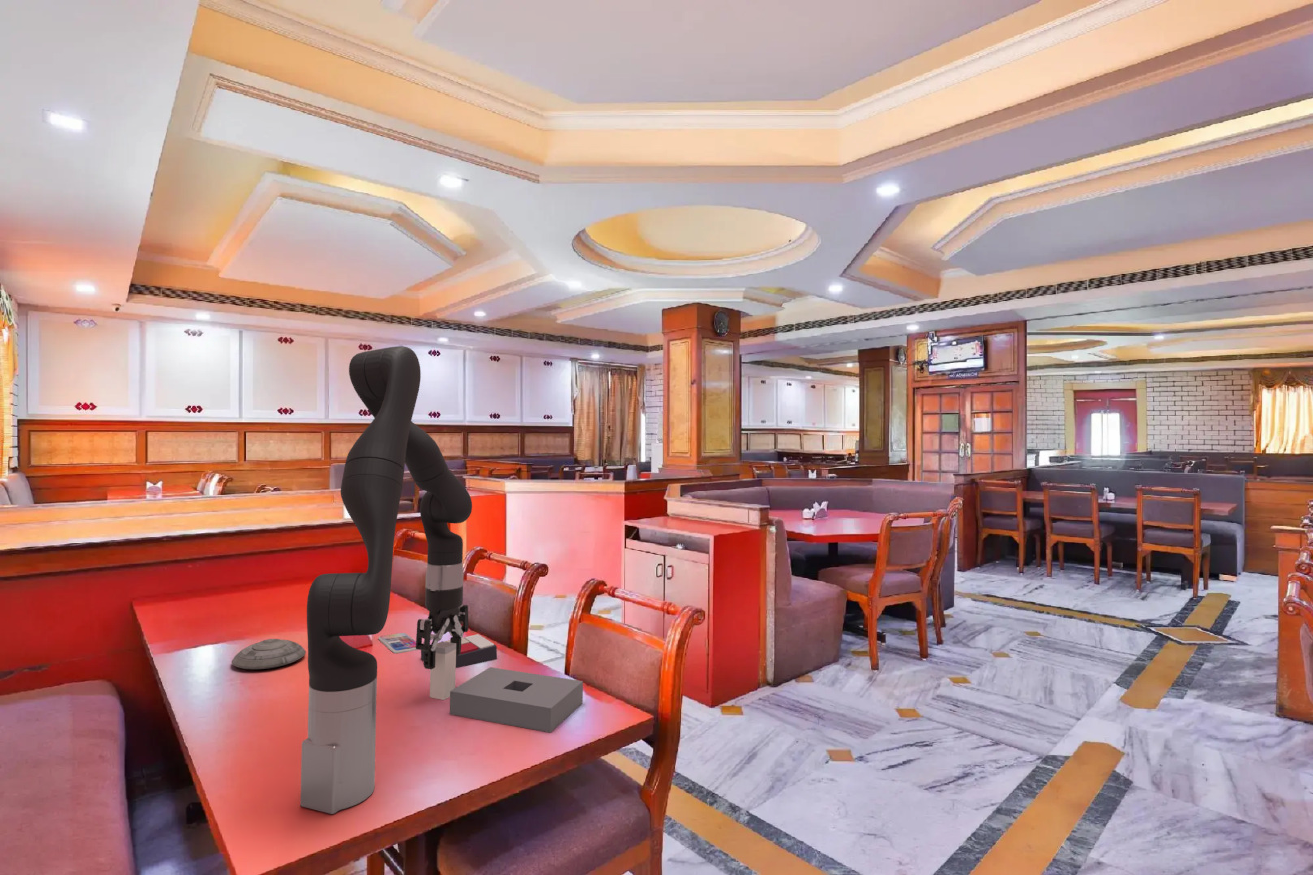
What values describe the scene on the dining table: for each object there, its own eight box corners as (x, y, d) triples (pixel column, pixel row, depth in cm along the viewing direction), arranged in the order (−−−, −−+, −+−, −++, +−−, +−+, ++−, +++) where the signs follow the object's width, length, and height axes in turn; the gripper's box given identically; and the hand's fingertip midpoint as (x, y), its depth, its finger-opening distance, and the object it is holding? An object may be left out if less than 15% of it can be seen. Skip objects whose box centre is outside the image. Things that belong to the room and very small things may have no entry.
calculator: (420, 645, 153) (479, 631, 163) (420, 662, 154) (479, 647, 163) (435, 658, 145) (497, 642, 154) (436, 676, 145) (497, 659, 154)
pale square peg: (444, 699, 130) (445, 648, 130) (429, 697, 131) (430, 646, 131) (455, 693, 133) (456, 643, 133) (440, 690, 134) (441, 641, 134)
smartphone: (405, 631, 173) (424, 646, 161) (405, 635, 173) (424, 650, 161) (376, 636, 168) (394, 651, 156) (376, 639, 168) (394, 655, 156)
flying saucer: (246, 679, 139) (247, 654, 139) (220, 663, 148) (221, 640, 148) (317, 661, 151) (317, 638, 151) (289, 647, 160) (289, 626, 160)
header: (550, 732, 116) (551, 708, 116) (449, 714, 123) (450, 691, 123) (582, 702, 130) (583, 681, 130) (489, 687, 136) (490, 667, 136)
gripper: (450, 575, 140) (448, 648, 140) (406, 589, 126) (404, 670, 126) (479, 578, 138) (477, 653, 138) (437, 593, 124) (436, 675, 124)
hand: (442, 661), depth 132 cm, fingers open, 8 cm apart
